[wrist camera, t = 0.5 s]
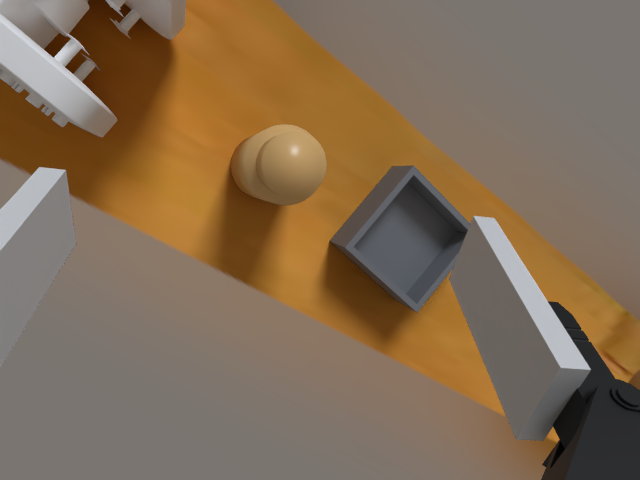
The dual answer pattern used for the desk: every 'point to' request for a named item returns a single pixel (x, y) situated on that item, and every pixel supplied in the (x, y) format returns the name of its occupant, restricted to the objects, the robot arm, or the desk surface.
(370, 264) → the grey open square box
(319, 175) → the beige rounded figurine
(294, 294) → the desk surface
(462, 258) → the robot arm
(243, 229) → the desk surface
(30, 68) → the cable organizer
